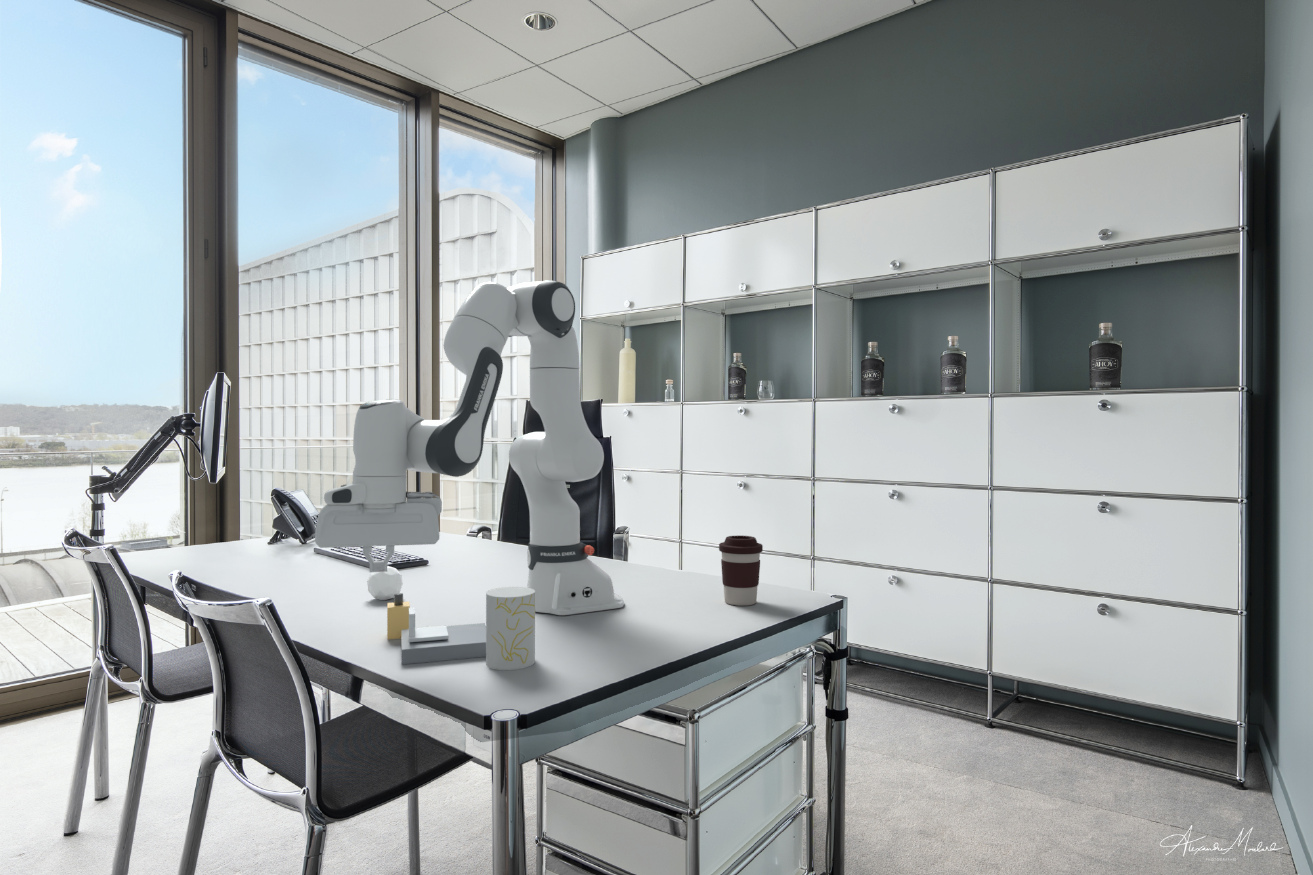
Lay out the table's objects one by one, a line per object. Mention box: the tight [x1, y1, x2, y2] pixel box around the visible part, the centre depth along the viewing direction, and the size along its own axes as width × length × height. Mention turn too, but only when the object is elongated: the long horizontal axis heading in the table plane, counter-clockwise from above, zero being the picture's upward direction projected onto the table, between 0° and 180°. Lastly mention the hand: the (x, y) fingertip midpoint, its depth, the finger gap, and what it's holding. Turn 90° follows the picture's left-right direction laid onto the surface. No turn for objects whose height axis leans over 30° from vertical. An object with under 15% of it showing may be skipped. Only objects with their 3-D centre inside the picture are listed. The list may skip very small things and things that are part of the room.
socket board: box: [400, 622, 486, 665], centre depth 133 cm, size 13×15×2 cm
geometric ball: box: [366, 565, 404, 601], centre depth 171 cm, size 8×8×8 cm
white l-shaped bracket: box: [409, 606, 448, 642], centre depth 132 cm, size 7×6×5 cm
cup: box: [485, 586, 536, 671], centre depth 125 cm, size 8×8×12 cm
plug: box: [386, 592, 411, 641], centre depth 141 cm, size 4×4×8 cm
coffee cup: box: [718, 535, 764, 607], centre depth 169 cm, size 10×10×15 cm
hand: (378, 571), depth 129 cm, fingers closed
